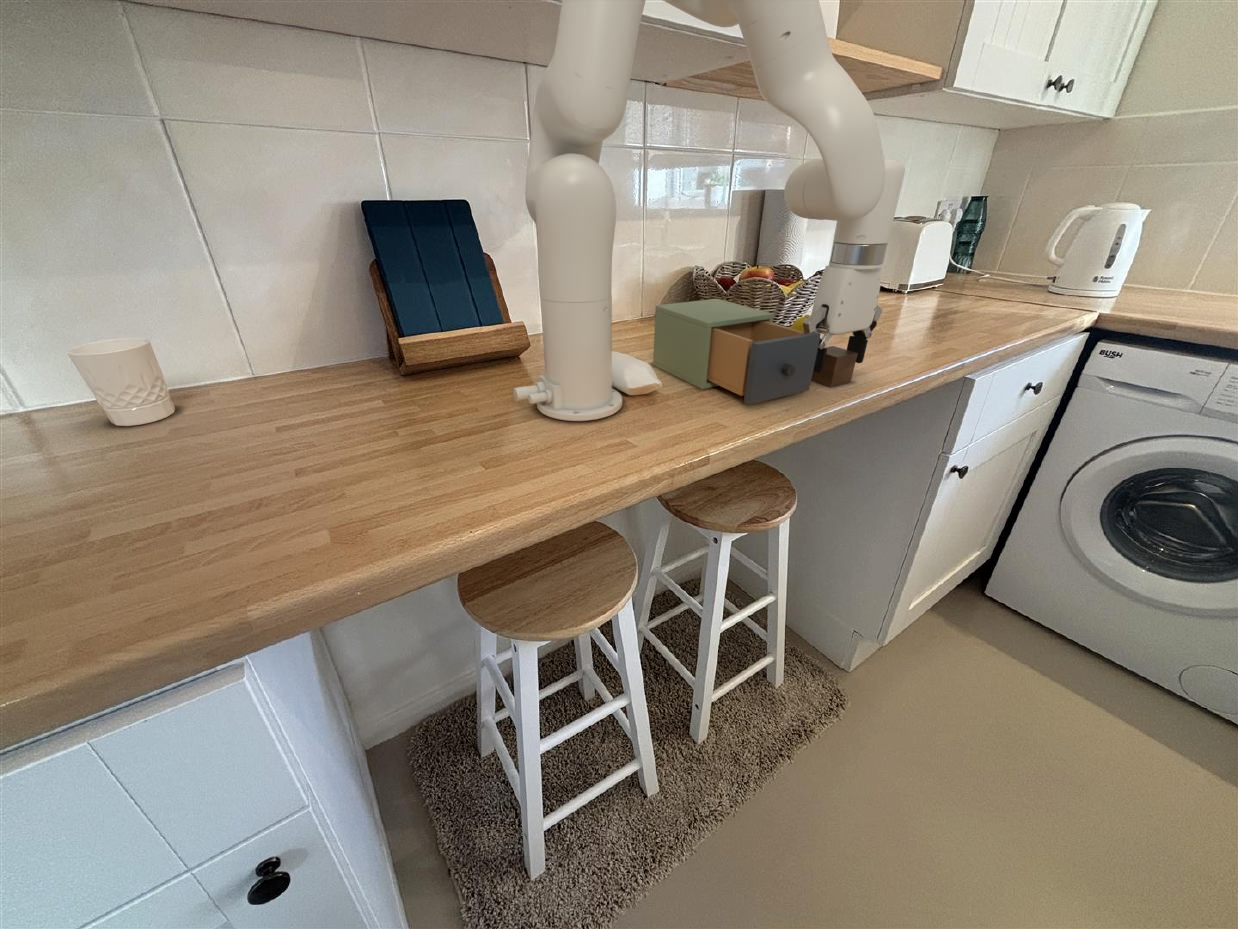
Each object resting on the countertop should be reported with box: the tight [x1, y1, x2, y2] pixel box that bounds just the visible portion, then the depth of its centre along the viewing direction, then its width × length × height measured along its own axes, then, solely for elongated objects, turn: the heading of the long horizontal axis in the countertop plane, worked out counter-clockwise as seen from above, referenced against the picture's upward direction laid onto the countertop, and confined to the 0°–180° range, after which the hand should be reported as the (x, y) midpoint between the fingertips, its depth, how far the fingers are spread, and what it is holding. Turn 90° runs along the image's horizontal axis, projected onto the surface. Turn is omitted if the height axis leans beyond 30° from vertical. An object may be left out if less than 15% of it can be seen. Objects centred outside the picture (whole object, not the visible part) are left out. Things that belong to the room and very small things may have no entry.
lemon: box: [790, 314, 810, 332], centre depth 93 cm, size 6×6×8 cm
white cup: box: [66, 337, 176, 427], centre depth 66 cm, size 8×8×10 cm
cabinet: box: [652, 298, 775, 390], centre depth 85 cm, size 15×14×11 cm
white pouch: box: [612, 350, 663, 396], centre depth 76 cm, size 6×12×6 cm, turn 35°
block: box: [811, 345, 858, 388], centre depth 82 cm, size 5×5×5 cm
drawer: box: [707, 320, 822, 405], centre depth 77 cm, size 15×12×9 cm
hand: (833, 365), depth 83 cm, fingers open, 9 cm apart
